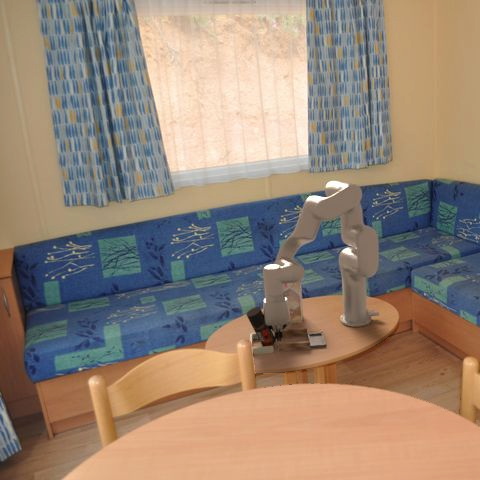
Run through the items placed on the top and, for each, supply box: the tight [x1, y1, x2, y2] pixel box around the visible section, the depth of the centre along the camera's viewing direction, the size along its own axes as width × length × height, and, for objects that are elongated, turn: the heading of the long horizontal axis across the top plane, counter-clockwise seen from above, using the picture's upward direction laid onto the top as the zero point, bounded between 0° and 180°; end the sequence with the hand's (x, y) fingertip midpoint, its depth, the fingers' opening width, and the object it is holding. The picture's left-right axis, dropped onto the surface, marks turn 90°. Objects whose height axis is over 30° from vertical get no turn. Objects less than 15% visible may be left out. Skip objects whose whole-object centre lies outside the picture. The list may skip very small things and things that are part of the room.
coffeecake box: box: [284, 280, 304, 324], centre depth 199 cm, size 15×7×20 cm, turn 77°
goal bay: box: [249, 332, 275, 355], centre depth 182 cm, size 9×13×2 cm
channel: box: [278, 327, 312, 352], centre depth 181 cm, size 12×12×3 cm
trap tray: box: [307, 331, 327, 349], centre depth 180 cm, size 6×10×1 cm, turn 177°
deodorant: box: [246, 306, 277, 347], centre depth 179 cm, size 6×6×15 cm
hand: (279, 339), depth 181 cm, fingers closed
